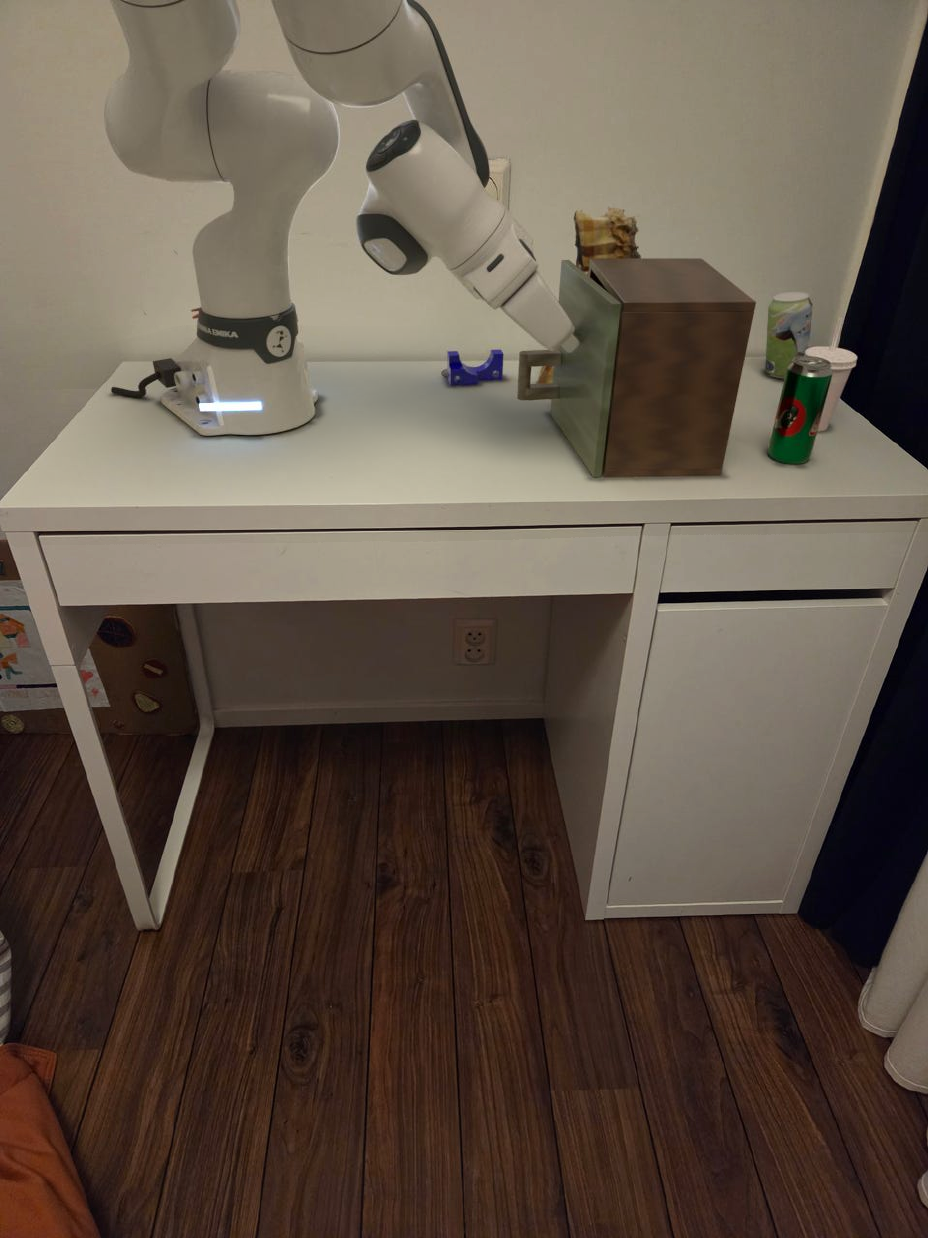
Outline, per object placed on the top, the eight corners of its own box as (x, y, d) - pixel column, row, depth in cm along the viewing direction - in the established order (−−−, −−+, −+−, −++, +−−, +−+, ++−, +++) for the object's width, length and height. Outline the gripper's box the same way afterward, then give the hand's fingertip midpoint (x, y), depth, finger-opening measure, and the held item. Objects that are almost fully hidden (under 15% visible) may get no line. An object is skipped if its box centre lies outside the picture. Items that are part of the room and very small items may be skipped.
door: (549, 480, 99) (562, 305, 87) (512, 415, 115) (519, 260, 103) (601, 476, 99) (621, 303, 88) (557, 413, 116) (569, 259, 104)
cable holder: (450, 386, 124) (450, 358, 122) (447, 377, 127) (447, 351, 125) (504, 383, 125) (505, 356, 123) (499, 375, 128) (500, 349, 126)
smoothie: (839, 421, 115) (869, 315, 106) (835, 438, 110) (866, 329, 102) (790, 413, 117) (816, 309, 109) (784, 430, 112) (810, 322, 104)
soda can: (811, 468, 102) (838, 370, 95) (768, 464, 103) (791, 366, 96) (806, 451, 106) (831, 356, 100) (765, 447, 107) (786, 352, 100)
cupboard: (603, 478, 100) (624, 302, 88) (575, 413, 116) (589, 258, 104) (720, 476, 100) (756, 301, 89) (676, 412, 117) (701, 258, 105)
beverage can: (810, 382, 127) (831, 299, 120) (761, 382, 127) (779, 299, 120) (797, 368, 132) (816, 288, 125) (750, 368, 132) (766, 287, 125)
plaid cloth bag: (546, 352, 134) (559, 186, 115) (634, 362, 132) (661, 195, 113) (533, 403, 125) (544, 231, 106) (627, 414, 123) (655, 241, 104)
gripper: (460, 256, 103) (533, 335, 110) (487, 304, 87) (571, 393, 94) (498, 216, 101) (570, 299, 108) (532, 257, 85) (615, 352, 92)
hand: (570, 343), depth 101 cm, fingers closed
